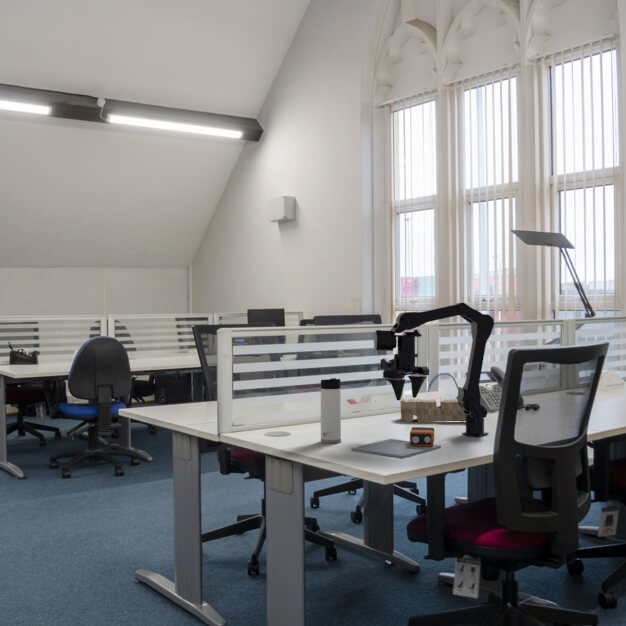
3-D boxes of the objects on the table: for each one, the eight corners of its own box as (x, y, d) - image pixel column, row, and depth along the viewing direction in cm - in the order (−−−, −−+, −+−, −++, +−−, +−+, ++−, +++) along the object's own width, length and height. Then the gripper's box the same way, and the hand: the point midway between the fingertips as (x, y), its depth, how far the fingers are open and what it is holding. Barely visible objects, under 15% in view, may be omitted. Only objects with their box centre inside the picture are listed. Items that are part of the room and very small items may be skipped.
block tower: (400, 424, 268) (482, 423, 264) (400, 401, 268) (481, 400, 264) (401, 421, 276) (480, 420, 272) (400, 399, 276) (479, 397, 272)
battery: (411, 426, 225) (409, 432, 215) (434, 427, 223) (432, 432, 213) (411, 441, 225) (409, 447, 215) (434, 441, 223) (432, 447, 213)
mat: (390, 440, 229) (390, 438, 229) (440, 447, 217) (440, 445, 217) (351, 450, 213) (351, 448, 213) (403, 458, 202) (403, 455, 202)
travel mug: (324, 444, 223) (324, 378, 223) (318, 440, 229) (318, 376, 229) (344, 443, 225) (343, 378, 224) (337, 439, 231) (337, 376, 231)
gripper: (401, 348, 249) (401, 394, 249) (369, 351, 235) (369, 399, 235) (429, 349, 242) (430, 397, 242) (398, 352, 228) (398, 402, 228)
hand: (406, 398), depth 237 cm, fingers open, 9 cm apart
